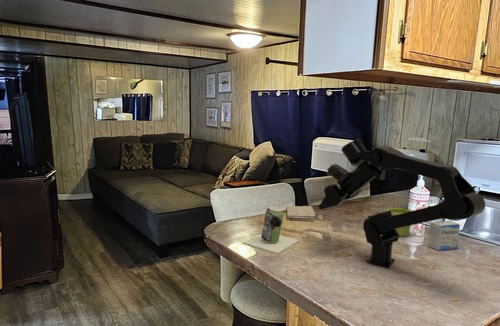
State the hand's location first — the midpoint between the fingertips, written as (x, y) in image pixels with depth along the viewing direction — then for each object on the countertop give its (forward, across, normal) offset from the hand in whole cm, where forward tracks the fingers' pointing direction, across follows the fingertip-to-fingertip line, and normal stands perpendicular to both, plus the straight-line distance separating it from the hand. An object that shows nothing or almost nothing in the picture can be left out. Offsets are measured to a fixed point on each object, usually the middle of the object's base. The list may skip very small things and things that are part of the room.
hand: (325, 205), depth 114 cm
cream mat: (+20, +10, -1) cm, 22 cm away
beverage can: (+20, +10, -1) cm, 22 cm away
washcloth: (+26, -25, -6) cm, 37 cm away
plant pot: (-2, -28, +22) cm, 36 cm away
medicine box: (-13, -23, +33) cm, 42 cm away
